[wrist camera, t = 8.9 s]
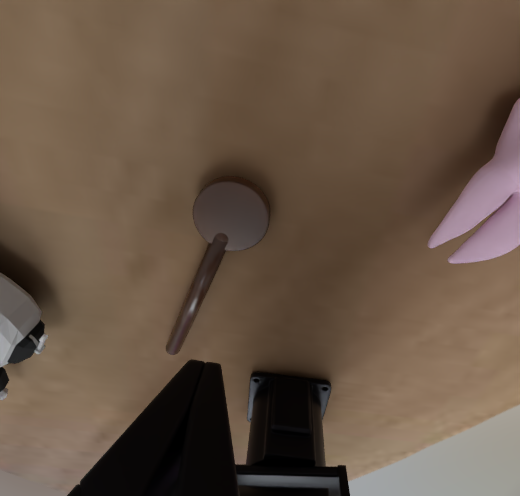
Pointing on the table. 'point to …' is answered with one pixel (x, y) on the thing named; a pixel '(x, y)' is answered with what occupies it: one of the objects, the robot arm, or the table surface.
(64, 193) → the table surface
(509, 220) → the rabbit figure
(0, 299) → the robot toy
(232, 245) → the spoon
